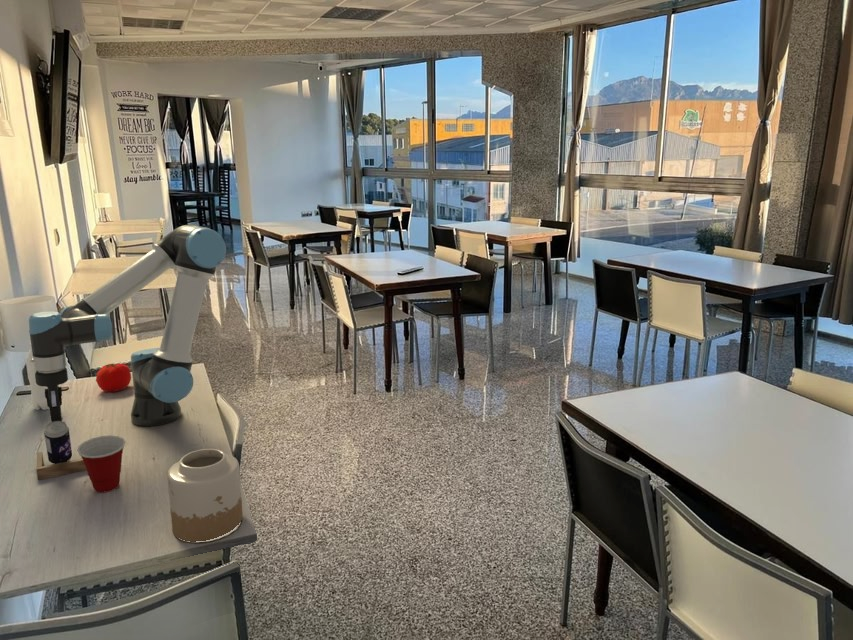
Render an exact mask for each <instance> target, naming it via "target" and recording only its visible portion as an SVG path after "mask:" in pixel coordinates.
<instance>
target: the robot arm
mask: <svg viewBox="0 0 853 640" xmlns="http://www.w3.org/2000/svg"><path fill="white" fill-rule="evenodd" d="M226 254H227V245H226V243H225V240H224V238H223V237H222V235H221V234H220V233H219V232H218V231H216V230H214V229H211V228H209V227H204V226H198V225H195V224H185V225H181V226H178V227H176V228H174V229H173V230H172V231H170V232H169V233H167V234H166V235H165V236H164V237H162V238H160V240H157V242H155V243H154V244H153V245H152V249H151V250H149V252H147V253H146V254H144V255H143V256H142V257H140V258H138V260H136V261H134V262H133V263H132V264H130V265H129V266H128V267H126V268H125V269H123V270H122V271H121V272H119V273H118V274H117V275H115V276H113V278H111V279H109V280H108V281H107V282H106V283H104V284H102V285H101V286H100V287H98V288H97V289H96V290H94V291H93V292H92V293H90V294H89V295H88V296H86V297H84V298H83V299H82V300H80V301H79V302H77V303H76V304H75V305H74V304H73V305H69V306H65V307H64V308H63V309H62V310H61V311H60V312H57V311H39V312H35V313H33V314H31V315H30V316H29V317H28V325H29V326H28V327H29V329H28V333H29V337H30V339H29V341H30V340H31V347H32V354H33V359H31V360H30V361H31V362H34V369H35V370H36V372H35V380H36V384H37V385H39V386H46V387H48V388H45V398H46V399H47V406H48V407H49V409H48V410H49V416H50V423H51V422H54V421H62V422H63V416H62V407H61V406H62V405H63V402H62V401H63V399H62V397H63V390H62V386H60V385H64V384H65V383H67V382H68V380H69V376H68V375H69V373H68V368H67V366H68V365H67V356H66V355H67V354H66V350H65V348H66V346H67V347H68V346H73V345H81V344H89V343H96V342H97V343H100V342H103V341H107V340H110V339H111V338H112V337H113V324H112V320H111V318H110V316H109V314H110V313H111V312H113V311H114V310H116V309H117V308H118V307H119V306H121V305H122V304H124V303H125V302H126V301H127V300H129V299H130V298H131V297H133V296H134V295H136V294H137V293H139V292H140V291H141V290H143V289H144V288H145V287H146V286H148V285H150V284H151V283H152V282H154V281H155V280H156V279H157V278H159V277H161V276H162V275H163V274H165V272H168V270H175V269H176V270H177V278H176V281H175V286H174V290H173V294H172V298H171V302H170V306H169V310H168V314H167V318H166V323H165V327H164V331H163V335H162V339H161V343H160V347H154V348H147V349H141V350H137V351H135V352H132V354H131V356H130V365H131V377H132V382H133V383H132V384H133V393H134V400H133V404H132V407H131V412H130V421H131V423H132V424H134V425H135V426H136V425H137V426H139V427H155V426H160V425H165V424H168V423H172V422H174V421H176V420H178V419H179V418H180V417H181V416H182V408H181V405H180V403H179V402H180V401H181V400H184V399H185V398H186V397H187V396H188V395H190V393H191V391H192V390H193V387H194V376H193V374H192V372H191V371H192V367H193V362H194V359H193V358H192V356H191V355H190V354H191V353H190V352H191V349H192V345H193V344H192V343H193V342H194V341H193V339H194V336H195V332H196V328H197V324H198V321H199V315H200V312H201V310H202V309H201V308H202V304H203V299H204V296H205V293H206V288H207V285H208V281H209V279H210V278H213V277H214V276H215V274H216V270H217V266H219V265H220V264H221V263H222V262H223V261H224V260H225V258H226ZM180 415H181V416H180ZM178 417H179V418H178ZM177 418H178V419H177ZM175 419H176V420H175Z"/></svg>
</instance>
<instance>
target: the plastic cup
mask: <svg viewBox="0 0 853 640" xmlns="http://www.w3.org/2000/svg"><path fill="white" fill-rule="evenodd" d="M125 445H126V440H125V439H124V437H122V436H119V435H110V434H109V435H101V436H100V435H99V436H97V437H92V438H90V439H87V440H85V441H83V442H82V443H81V444H80V445H78V447H77V450H76V451H77V453H78V455H79V456H80V457H81V459H83V461H84V463H85V466H86V469H87V470H86V472H87V475H88V478H89V480H90V482H91V486H92V487H93V489H94V491H95V492H97V493H106V492H107V493H108V492H111V491H113V490H115V489H117V488H119V486H120V483H121V481H120V480H121V473H122V462H123V460H122V458H123V452H124V451H123V450H124V447H125Z"/></svg>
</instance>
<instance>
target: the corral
mask: <svg viewBox="0 0 853 640" xmlns="http://www.w3.org/2000/svg"><path fill="white" fill-rule="evenodd" d="M44 463H45V461H44V455H43V451H39V452H37V453H36V469H35V470H36V475H37V480H38V481H39V480H44V479H49V478H53V477H59V476H63V475H68V474H69V475H70V474H74V473H79V472H84V471H87V469H86V466H85V463H84V461H83V459H82V458H78V459H74V460H73V459H72V460H69V461H67V462H62V463H57V464H53V463H51V464H48V465H45V464H44Z"/></svg>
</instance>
